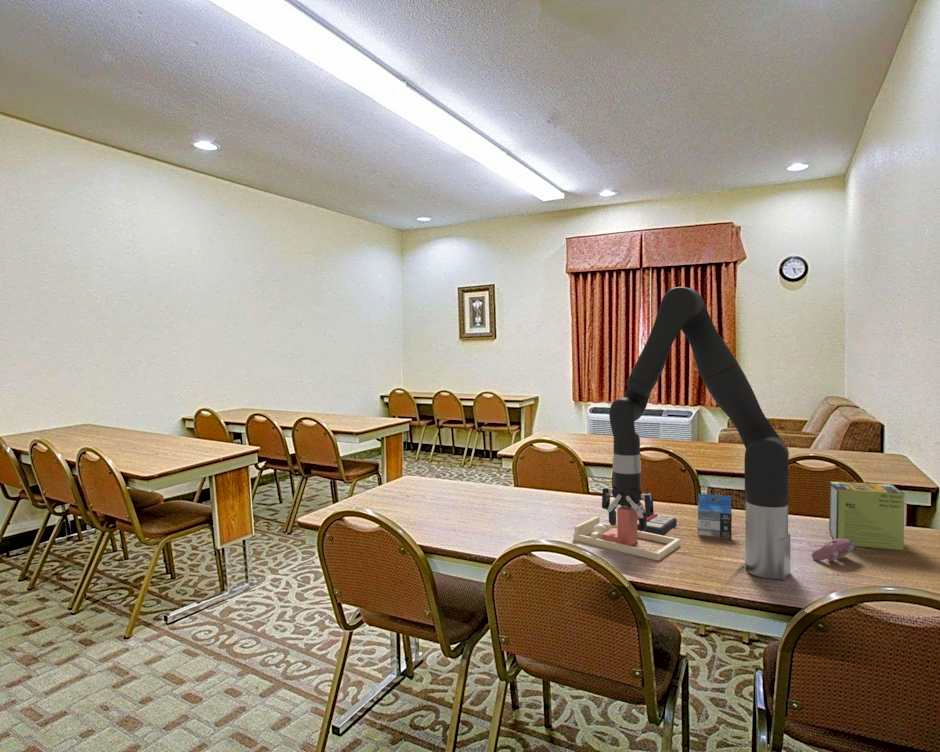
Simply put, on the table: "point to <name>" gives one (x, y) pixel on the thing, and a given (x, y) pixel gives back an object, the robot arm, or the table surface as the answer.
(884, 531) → the protein box
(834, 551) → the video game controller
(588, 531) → the pitch
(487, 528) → the table surface
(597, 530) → the ball
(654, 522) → the calculator
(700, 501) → the label tape cartridge
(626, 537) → the block
